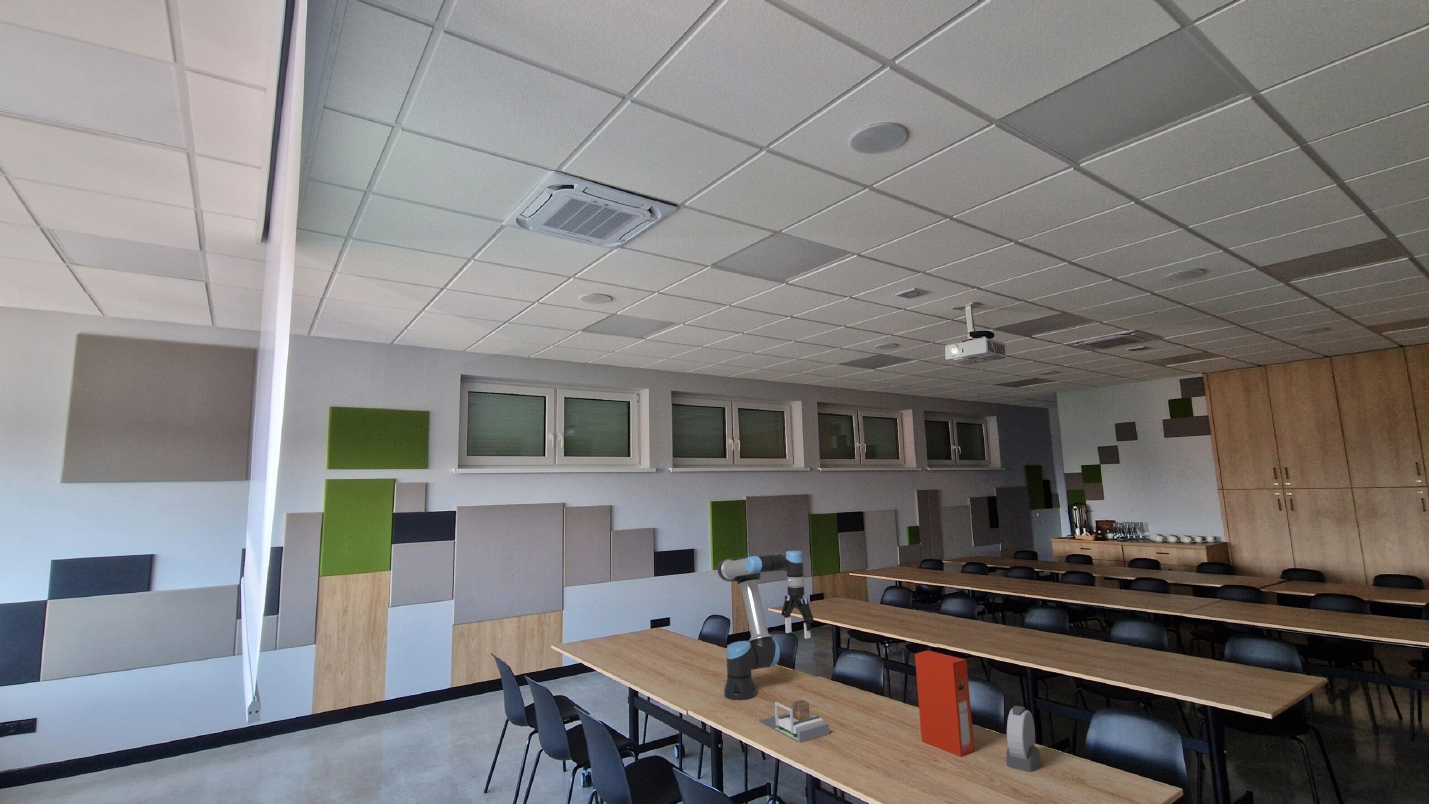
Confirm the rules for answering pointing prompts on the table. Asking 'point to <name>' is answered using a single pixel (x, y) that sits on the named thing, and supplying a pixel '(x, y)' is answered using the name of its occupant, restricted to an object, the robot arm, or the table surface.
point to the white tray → (794, 720)
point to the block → (800, 709)
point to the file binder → (944, 702)
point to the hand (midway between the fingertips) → (797, 635)
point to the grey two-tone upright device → (1021, 741)
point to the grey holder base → (801, 734)
